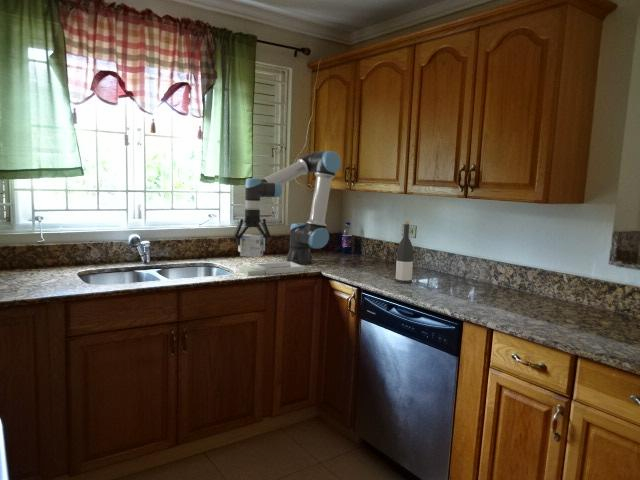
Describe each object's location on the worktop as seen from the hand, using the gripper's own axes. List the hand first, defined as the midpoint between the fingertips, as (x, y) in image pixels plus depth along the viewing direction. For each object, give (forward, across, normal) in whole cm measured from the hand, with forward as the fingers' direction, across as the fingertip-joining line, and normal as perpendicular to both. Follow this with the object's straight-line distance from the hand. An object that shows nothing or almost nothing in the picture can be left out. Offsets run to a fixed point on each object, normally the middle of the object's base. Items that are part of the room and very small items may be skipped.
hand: (251, 251), depth 251 cm
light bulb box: (+3, 0, 0) cm, 3 cm away
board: (+11, 0, 0) cm, 11 cm away
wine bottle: (+11, -60, +49) cm, 78 cm away
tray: (+11, -17, -2) cm, 20 cm away
